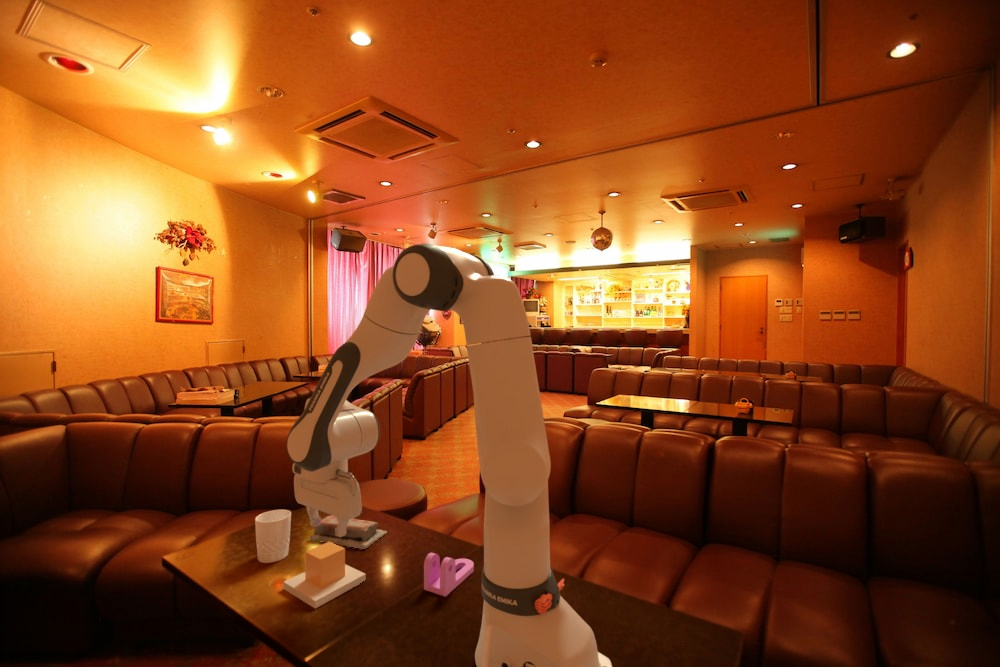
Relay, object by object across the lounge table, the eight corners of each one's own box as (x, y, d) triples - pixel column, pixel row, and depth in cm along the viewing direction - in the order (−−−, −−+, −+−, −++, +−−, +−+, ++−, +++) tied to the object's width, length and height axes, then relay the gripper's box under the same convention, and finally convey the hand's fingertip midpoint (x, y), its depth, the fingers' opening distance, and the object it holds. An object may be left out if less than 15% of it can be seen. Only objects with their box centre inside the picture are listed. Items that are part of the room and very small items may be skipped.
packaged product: (308, 524, 115) (333, 510, 124) (308, 542, 115) (333, 527, 124) (365, 532, 109) (387, 517, 119) (365, 552, 109) (387, 535, 118)
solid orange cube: (345, 576, 94) (345, 548, 94) (320, 588, 90) (320, 559, 90) (329, 568, 98) (329, 541, 98) (305, 579, 93) (305, 551, 93)
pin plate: (365, 580, 95) (365, 555, 95) (315, 608, 85) (315, 580, 85) (333, 564, 102) (333, 541, 102) (283, 588, 92) (283, 562, 92)
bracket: (445, 597, 89) (445, 563, 89) (423, 590, 92) (423, 557, 92) (478, 568, 100) (478, 537, 100) (458, 562, 103) (458, 532, 103)
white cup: (266, 567, 101) (266, 525, 101) (248, 559, 105) (248, 518, 105) (297, 553, 108) (297, 513, 108) (279, 546, 112) (279, 507, 112)
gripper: (368, 469, 91) (370, 536, 90) (314, 457, 103) (315, 515, 102) (341, 478, 86) (343, 548, 85) (288, 463, 98) (289, 525, 97)
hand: (327, 530), depth 94 cm, fingers open, 8 cm apart
